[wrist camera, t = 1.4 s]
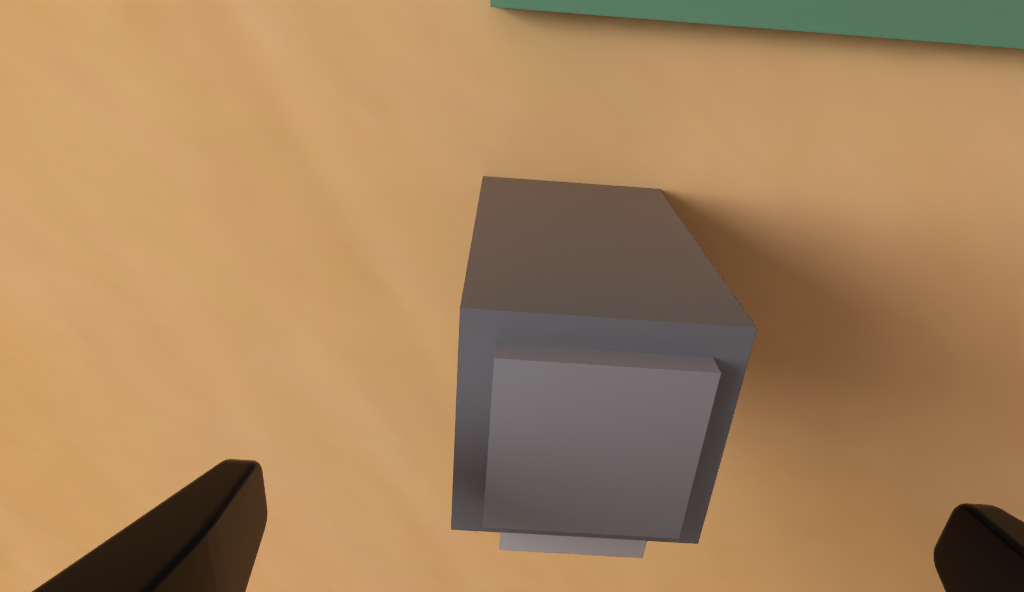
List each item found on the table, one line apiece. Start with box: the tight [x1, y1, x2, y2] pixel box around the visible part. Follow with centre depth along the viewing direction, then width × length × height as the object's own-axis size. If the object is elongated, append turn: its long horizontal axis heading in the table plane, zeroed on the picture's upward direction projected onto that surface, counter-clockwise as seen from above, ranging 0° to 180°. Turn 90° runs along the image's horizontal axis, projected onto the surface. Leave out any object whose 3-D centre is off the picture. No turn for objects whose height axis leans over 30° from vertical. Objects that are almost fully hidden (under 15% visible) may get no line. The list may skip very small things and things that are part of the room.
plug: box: [451, 176, 757, 558], centre depth 12 cm, size 4×4×7 cm
